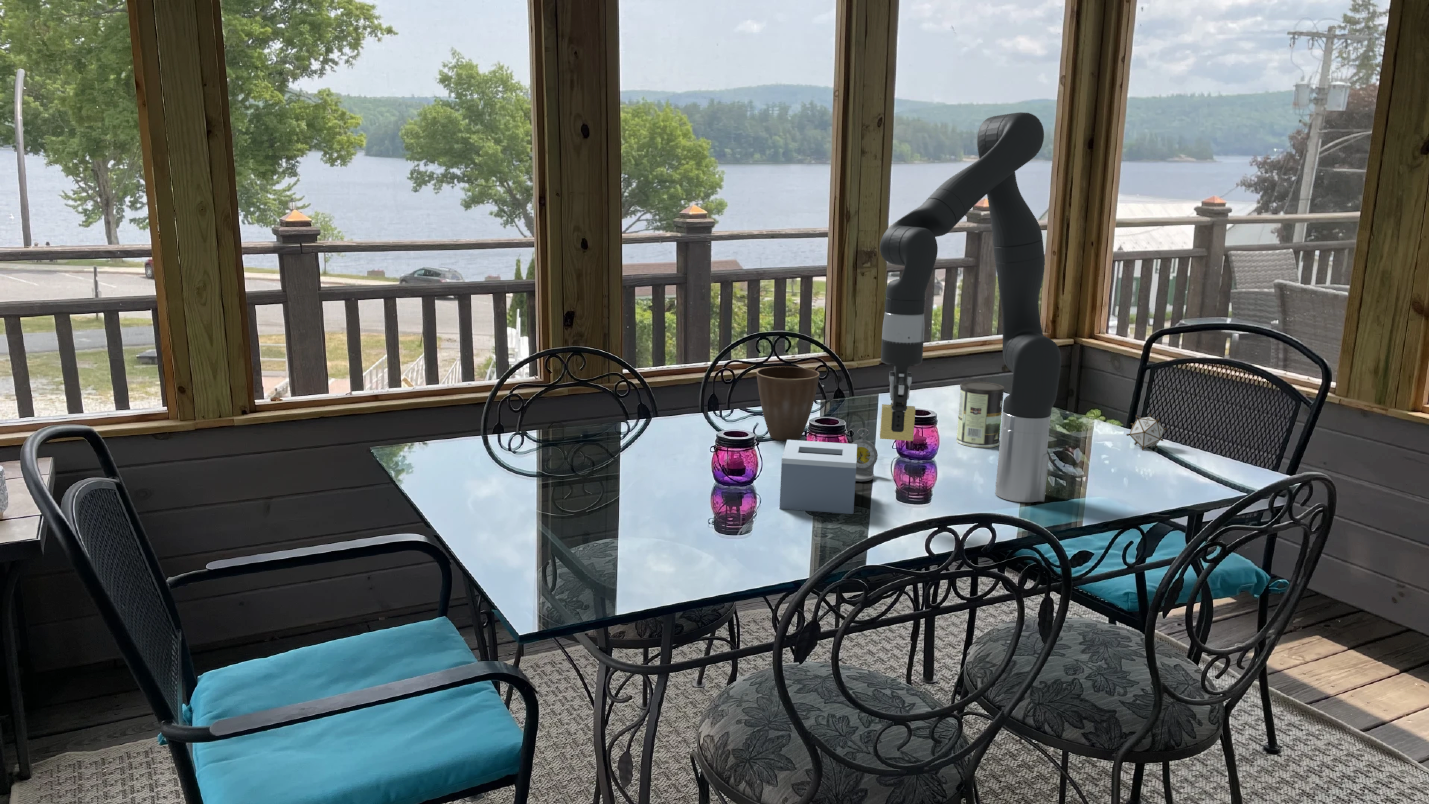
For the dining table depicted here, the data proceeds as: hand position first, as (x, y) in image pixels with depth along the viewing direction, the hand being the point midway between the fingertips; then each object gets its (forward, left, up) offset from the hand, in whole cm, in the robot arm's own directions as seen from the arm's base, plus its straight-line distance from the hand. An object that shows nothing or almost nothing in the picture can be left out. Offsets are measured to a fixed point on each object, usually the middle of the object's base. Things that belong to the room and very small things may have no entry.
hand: (897, 429), depth 196 cm
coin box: (+14, -6, -17) cm, 23 cm away
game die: (-62, -65, -17) cm, 91 cm away
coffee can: (-22, -60, -17) cm, 66 cm away
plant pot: (+24, -53, -17) cm, 61 cm away
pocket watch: (+6, -24, -17) cm, 30 cm away
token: (0, 0, -2) cm, 2 cm away
